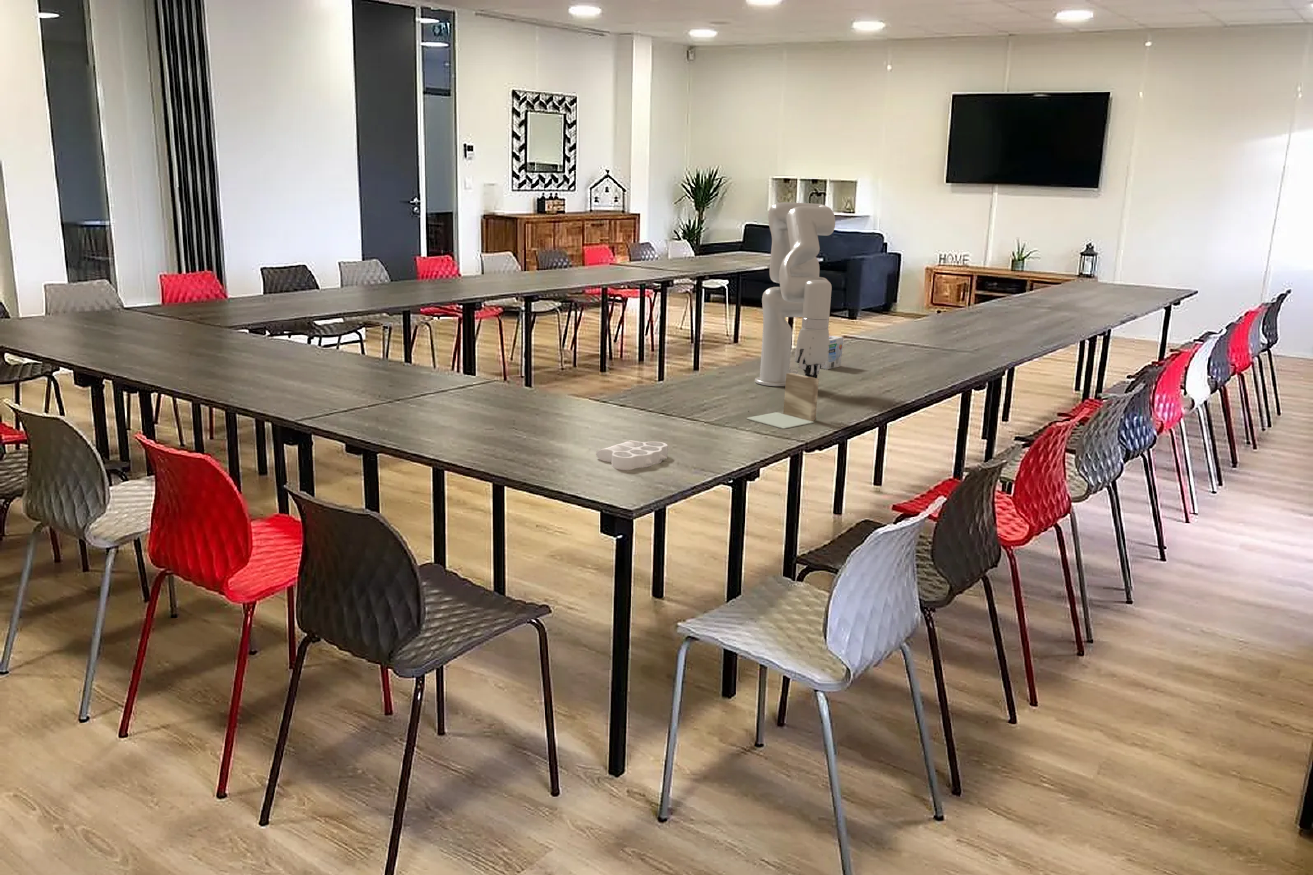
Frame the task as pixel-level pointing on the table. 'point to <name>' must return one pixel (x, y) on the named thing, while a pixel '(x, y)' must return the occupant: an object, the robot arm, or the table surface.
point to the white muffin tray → (634, 454)
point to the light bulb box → (834, 352)
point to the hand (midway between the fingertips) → (810, 387)
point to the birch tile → (801, 396)
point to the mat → (779, 420)
